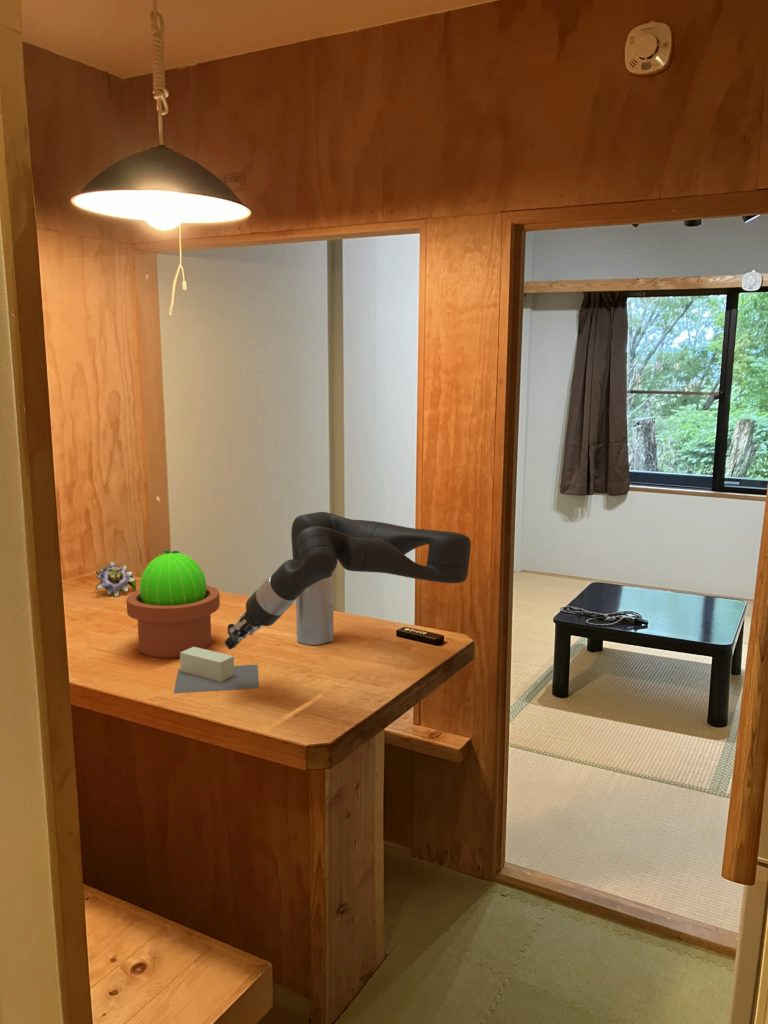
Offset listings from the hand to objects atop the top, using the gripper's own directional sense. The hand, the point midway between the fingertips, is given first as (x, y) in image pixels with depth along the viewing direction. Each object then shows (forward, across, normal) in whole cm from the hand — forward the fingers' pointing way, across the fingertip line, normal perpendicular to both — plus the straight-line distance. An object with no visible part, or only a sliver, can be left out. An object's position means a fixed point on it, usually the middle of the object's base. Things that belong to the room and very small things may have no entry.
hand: (229, 645), depth 175 cm
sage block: (+5, 0, -3) cm, 6 cm away
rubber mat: (+9, 0, -4) cm, 10 cm away
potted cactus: (+26, +12, +13) cm, 31 cm away
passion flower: (+61, +37, +49) cm, 87 cm away
